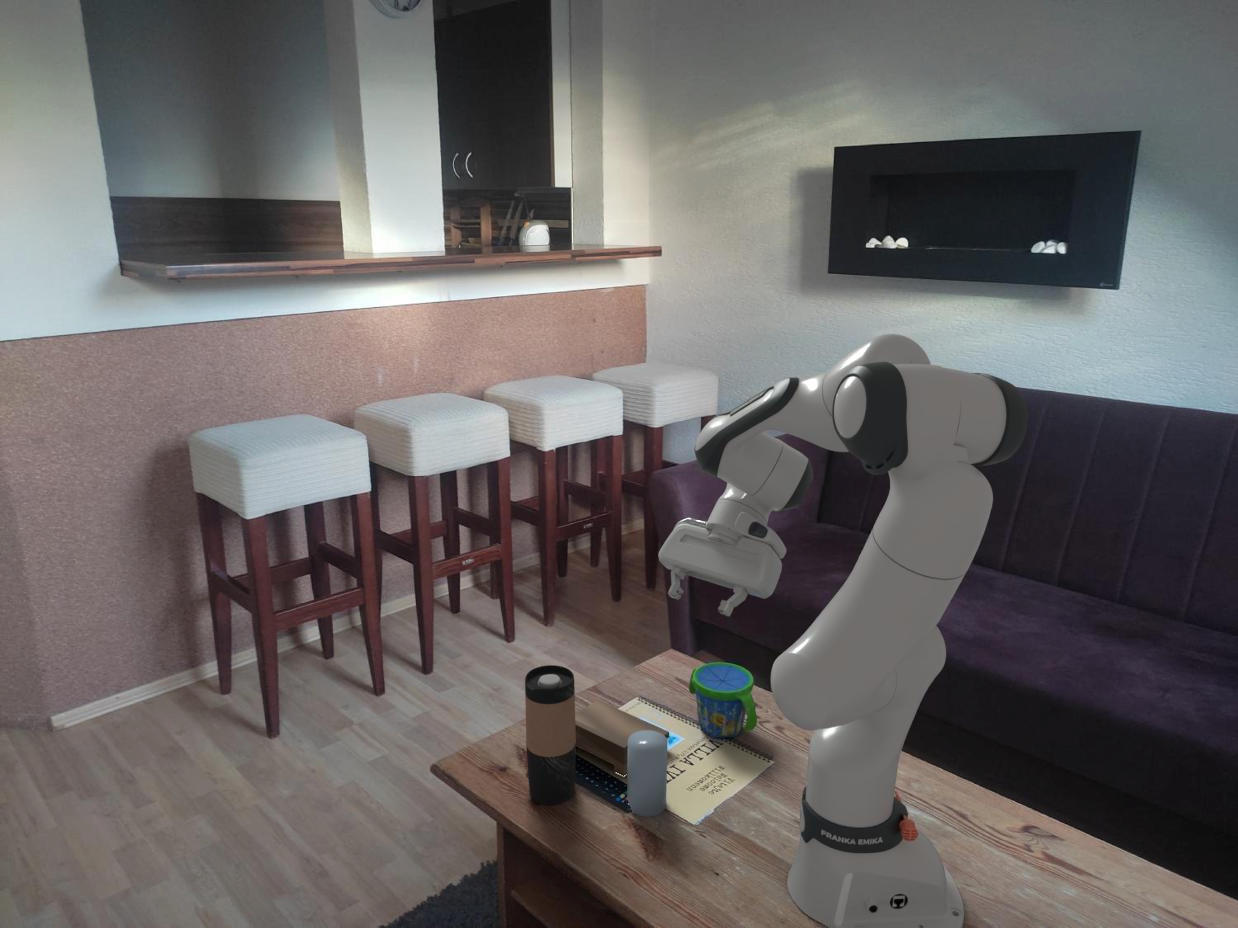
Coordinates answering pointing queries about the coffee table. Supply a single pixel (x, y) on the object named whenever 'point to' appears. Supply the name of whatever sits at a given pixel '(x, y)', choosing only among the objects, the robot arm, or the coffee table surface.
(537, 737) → the travel mug
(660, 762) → the grey rounded cylinder
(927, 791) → the coffee table surface
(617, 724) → the brown wooden box
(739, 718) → the snack cup
